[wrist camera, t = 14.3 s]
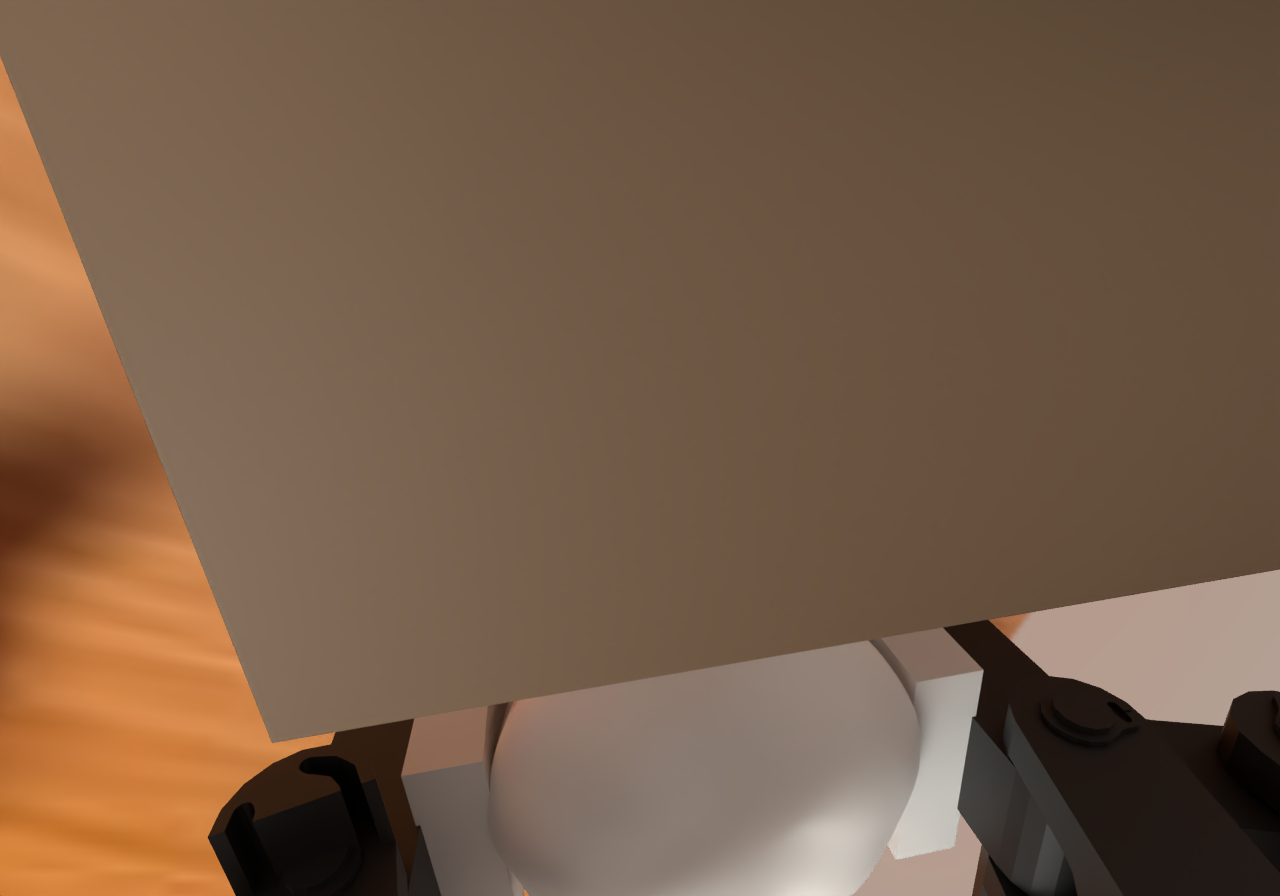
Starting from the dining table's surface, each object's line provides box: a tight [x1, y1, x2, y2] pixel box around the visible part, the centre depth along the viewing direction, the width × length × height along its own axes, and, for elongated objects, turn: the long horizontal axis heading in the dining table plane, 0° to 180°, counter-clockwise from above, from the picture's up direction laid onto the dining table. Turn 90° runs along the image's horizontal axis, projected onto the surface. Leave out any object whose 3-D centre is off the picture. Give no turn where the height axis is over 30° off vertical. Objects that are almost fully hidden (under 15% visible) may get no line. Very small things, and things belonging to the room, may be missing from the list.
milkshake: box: [488, 640, 920, 896], centre depth 10 cm, size 5×5×10 cm
